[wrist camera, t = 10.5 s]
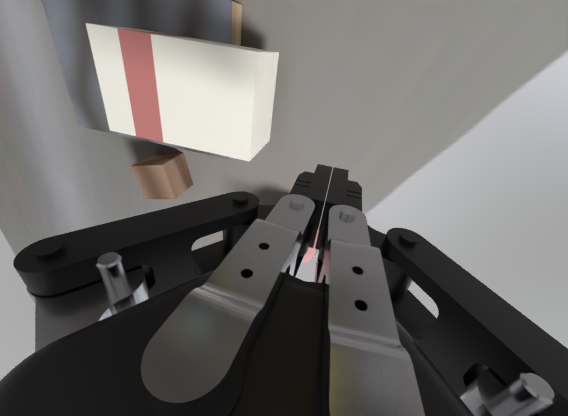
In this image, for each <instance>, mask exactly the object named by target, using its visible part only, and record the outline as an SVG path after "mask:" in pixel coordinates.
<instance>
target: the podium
mask: <svg viewBox="0 0 568 416" xmlns="http://www.w3.org/2000/svg"><path fill="white" fill-rule="evenodd" d="M42 2H43V6H44V9H45V13H46V16H47V20H48V23H49V26H50V30H51V33H52V37H53V40H54V44H55V47H56V50H57V54H58V57H59V61H60V64H61V68H62V71H63V74H64V78H65V81H66V85H67V88H68V92H69V95H70V98H71V102H72V105H73V109H74V112H75V116H76V119H77V122H78V126H81V127H86V128H90V129H95V130H99V131H104V132H108V133H113V134H117V135H122V136H126V137H131V138H135V139H140V140H144V141H149V142H153V143H158V144H162V145H167V146H171V147H176V148H180V149H185V150H189V151H194V152H198V153H203V154H207V155H212V156H216V157H221V158H225V159H229V158H230V157H228V156H223V155H219V154H214V153H209V152H205V151H200V150H196V149H191V148H187V147H182V146H178V145H173V144H169V143H164V142H159V141H154V140H150V139H145V138H141V137H136V136H133V135H128V134H124V133H119V132H115V131H110V129H109V124H108V120H107V116H106V111H105V107H104V102H103V98H102V94H101V89H100V85H99V80H98V76H97V72H96V67H95V63H94V58H93V54H92V50H91V45H90V41H89V36H88V32H87V28H86V23H90V24H98V25H107V26H115V27H124V28H132V29H141V30H147V31H153V32H159V33H166V34H173V35H179V36H185V37H191V38H196V39H202V40H208V41H214V42H220V43H226V44H232V45H238V46H241V25H242V5H241V4H238V3H236V2H234V1H232V0H42Z"/></svg>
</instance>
